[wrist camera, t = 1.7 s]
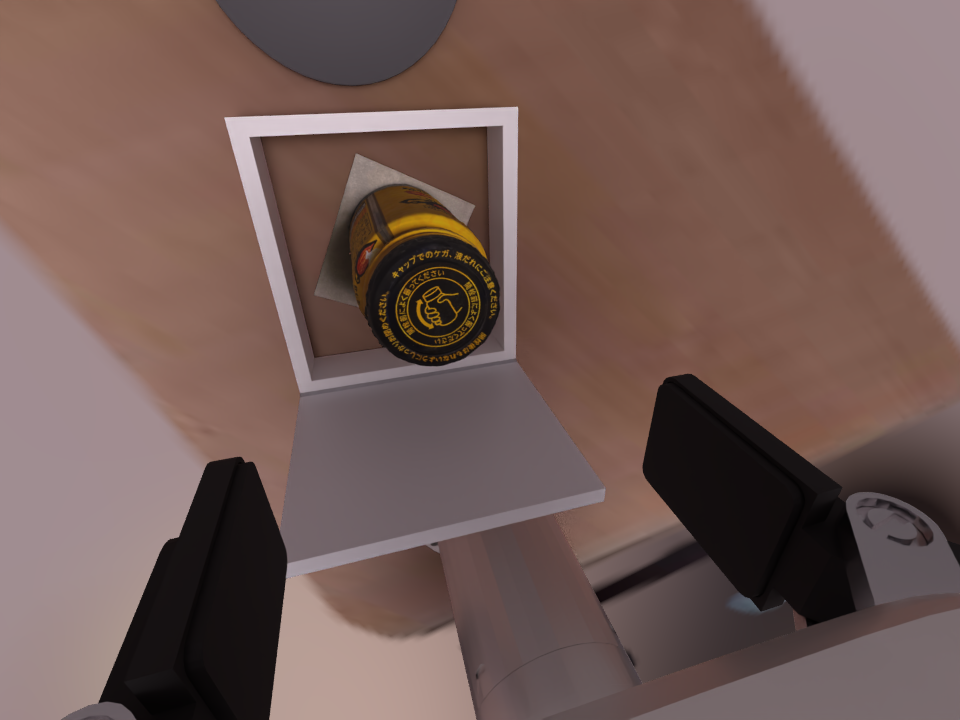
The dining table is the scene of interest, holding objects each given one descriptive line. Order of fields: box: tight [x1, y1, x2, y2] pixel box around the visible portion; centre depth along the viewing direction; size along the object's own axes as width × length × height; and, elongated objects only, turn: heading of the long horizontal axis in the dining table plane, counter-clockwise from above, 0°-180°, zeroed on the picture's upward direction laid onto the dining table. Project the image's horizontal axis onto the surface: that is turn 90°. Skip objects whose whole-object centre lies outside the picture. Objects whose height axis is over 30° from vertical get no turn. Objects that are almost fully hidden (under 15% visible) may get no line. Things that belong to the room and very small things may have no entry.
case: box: [224, 107, 606, 579], centre depth 21 cm, size 16×14×15 cm
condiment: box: [314, 154, 500, 367], centre depth 22 cm, size 7×8×12 cm
